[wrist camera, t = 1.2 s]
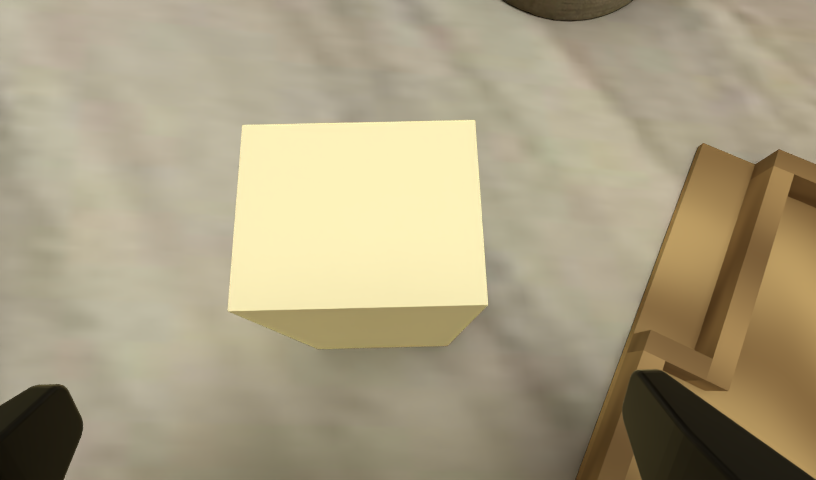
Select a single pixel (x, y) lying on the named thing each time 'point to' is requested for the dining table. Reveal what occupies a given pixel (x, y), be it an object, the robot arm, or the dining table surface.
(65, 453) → the robot arm
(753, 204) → the keyhole frame
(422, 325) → the panel block
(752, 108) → the dining table surface
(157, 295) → the dining table surface
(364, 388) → the dining table surface
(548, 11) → the pillar candle
